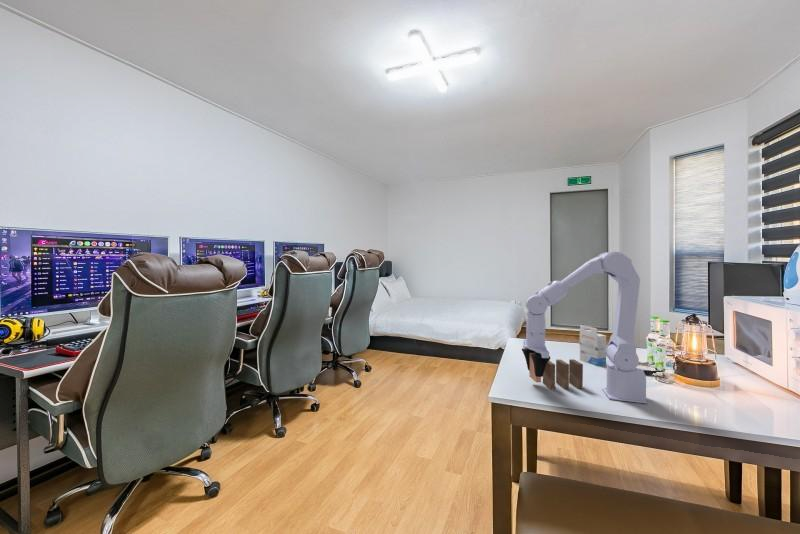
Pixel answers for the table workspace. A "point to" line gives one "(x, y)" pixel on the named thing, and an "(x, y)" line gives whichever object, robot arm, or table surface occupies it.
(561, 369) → the walnut domino
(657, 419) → the table surface
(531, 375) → the terracotta domino
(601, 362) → the ink box
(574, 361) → the walnut domino
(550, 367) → the walnut domino
